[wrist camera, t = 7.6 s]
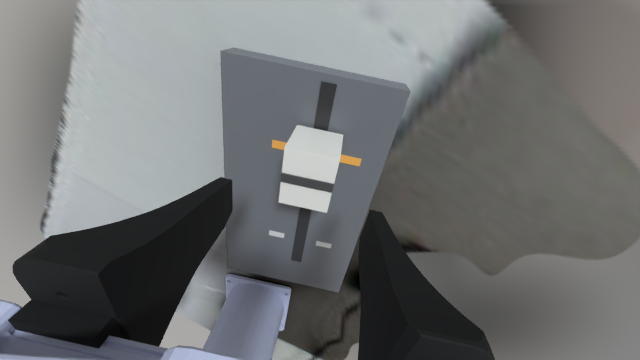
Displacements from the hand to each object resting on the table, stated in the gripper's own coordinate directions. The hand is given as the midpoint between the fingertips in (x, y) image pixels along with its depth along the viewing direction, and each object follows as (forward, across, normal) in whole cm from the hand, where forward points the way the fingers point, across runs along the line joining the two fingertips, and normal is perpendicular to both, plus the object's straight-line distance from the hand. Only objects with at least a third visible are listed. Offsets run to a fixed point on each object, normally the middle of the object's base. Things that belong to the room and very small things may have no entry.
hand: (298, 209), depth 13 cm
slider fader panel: (+9, +1, +5) cm, 10 cm away
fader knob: (+6, 0, 0) cm, 6 cm away
